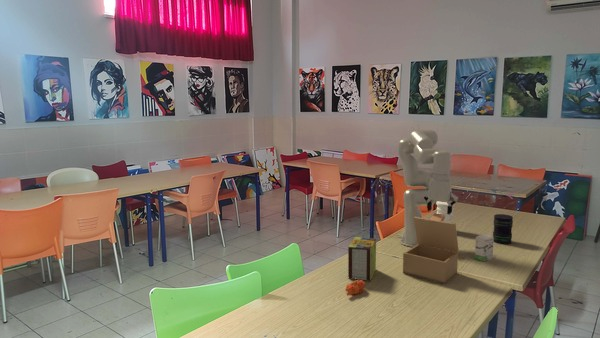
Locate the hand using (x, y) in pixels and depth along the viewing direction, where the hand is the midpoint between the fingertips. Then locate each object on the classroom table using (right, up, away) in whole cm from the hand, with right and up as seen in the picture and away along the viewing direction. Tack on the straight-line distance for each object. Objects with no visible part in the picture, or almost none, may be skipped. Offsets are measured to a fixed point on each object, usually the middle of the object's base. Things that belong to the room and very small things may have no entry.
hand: (439, 212), depth 212 cm
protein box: (-37, -29, -3) cm, 48 cm away
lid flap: (-2, -11, -2) cm, 11 cm away
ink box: (+27, -26, +15) cm, 40 cm away
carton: (-5, -29, -3) cm, 29 cm away
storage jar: (+49, -21, +41) cm, 67 cm away
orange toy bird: (-44, -32, -23) cm, 59 cm away
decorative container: (+23, -18, +63) cm, 70 cm away
